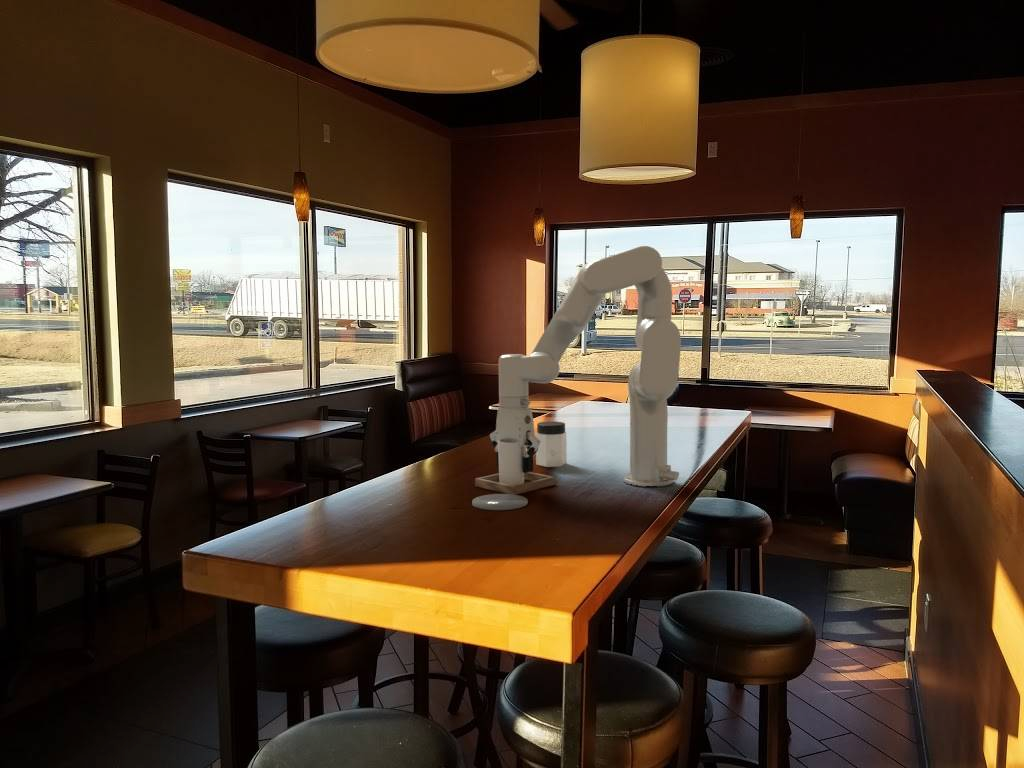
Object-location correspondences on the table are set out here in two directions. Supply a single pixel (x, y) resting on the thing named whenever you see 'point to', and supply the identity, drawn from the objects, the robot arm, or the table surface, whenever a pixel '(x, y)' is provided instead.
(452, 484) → the table surface
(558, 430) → the jar
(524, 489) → the corral
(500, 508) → the grey round disc
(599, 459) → the table surface
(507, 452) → the mug
